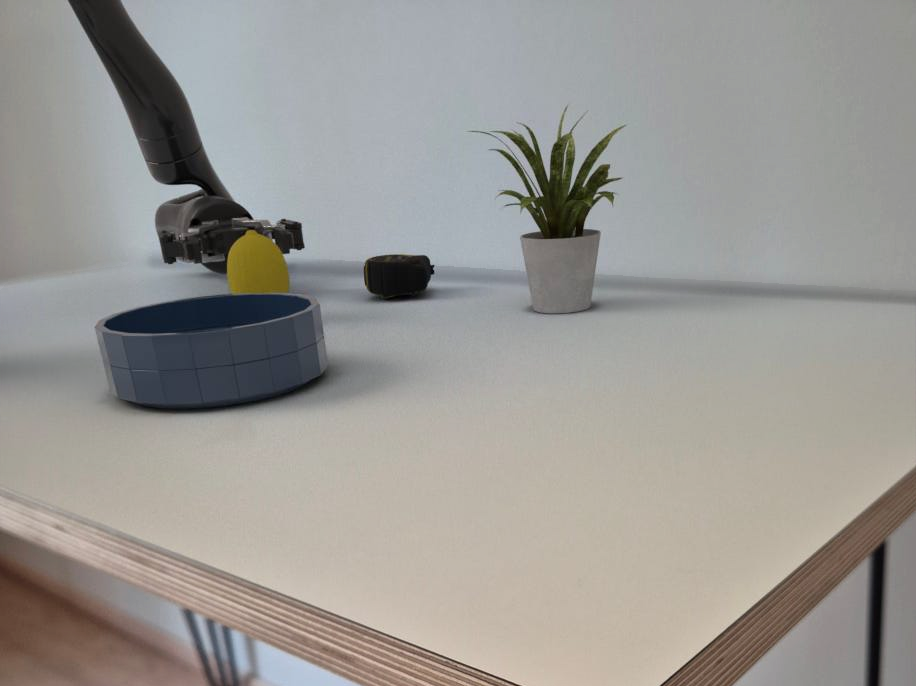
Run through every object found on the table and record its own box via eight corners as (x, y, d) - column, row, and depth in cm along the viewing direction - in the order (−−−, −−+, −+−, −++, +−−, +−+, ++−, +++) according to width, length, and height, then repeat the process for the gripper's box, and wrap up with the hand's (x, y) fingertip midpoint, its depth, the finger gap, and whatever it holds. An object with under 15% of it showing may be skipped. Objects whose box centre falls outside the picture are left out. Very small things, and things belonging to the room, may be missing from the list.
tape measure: (428, 300, 95) (425, 260, 94) (360, 303, 96) (356, 263, 94) (436, 288, 101) (433, 250, 99) (371, 292, 102) (368, 254, 100)
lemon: (250, 316, 93) (235, 227, 89) (304, 315, 92) (290, 225, 88) (225, 328, 89) (208, 235, 85) (282, 327, 87) (267, 232, 84)
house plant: (451, 326, 83) (435, 110, 75) (488, 297, 95) (477, 107, 87) (617, 323, 80) (619, 97, 72) (634, 293, 91) (637, 96, 83)
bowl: (144, 427, 61) (125, 346, 58) (92, 383, 72) (75, 314, 70) (362, 383, 67) (353, 308, 65) (283, 349, 79) (273, 285, 76)
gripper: (144, 202, 103) (157, 211, 89) (276, 190, 107) (308, 197, 94) (159, 277, 106) (175, 296, 93) (287, 262, 111) (319, 279, 97)
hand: (241, 247), depth 93 cm, fingers open, 8 cm apart
